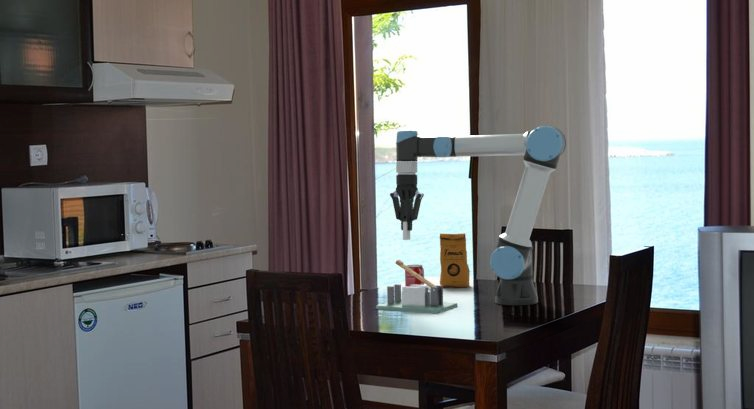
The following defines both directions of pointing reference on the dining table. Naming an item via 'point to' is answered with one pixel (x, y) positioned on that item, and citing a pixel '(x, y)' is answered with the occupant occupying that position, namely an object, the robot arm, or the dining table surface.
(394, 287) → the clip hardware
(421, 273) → the soda can
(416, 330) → the dining table surface
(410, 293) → the heat sink
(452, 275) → the coffee package
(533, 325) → the dining table surface
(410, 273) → the strap
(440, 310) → the board
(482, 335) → the dining table surface
